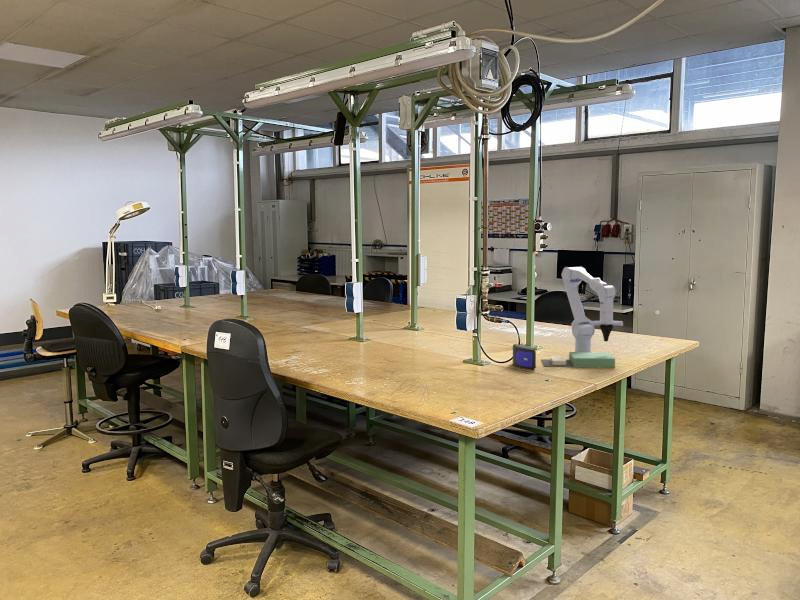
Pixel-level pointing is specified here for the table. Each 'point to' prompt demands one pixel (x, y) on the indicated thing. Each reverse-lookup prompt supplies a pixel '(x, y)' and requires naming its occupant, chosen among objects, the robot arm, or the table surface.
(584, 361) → the block
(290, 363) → the table surface
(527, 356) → the framed blue square panel
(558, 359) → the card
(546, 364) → the mat
